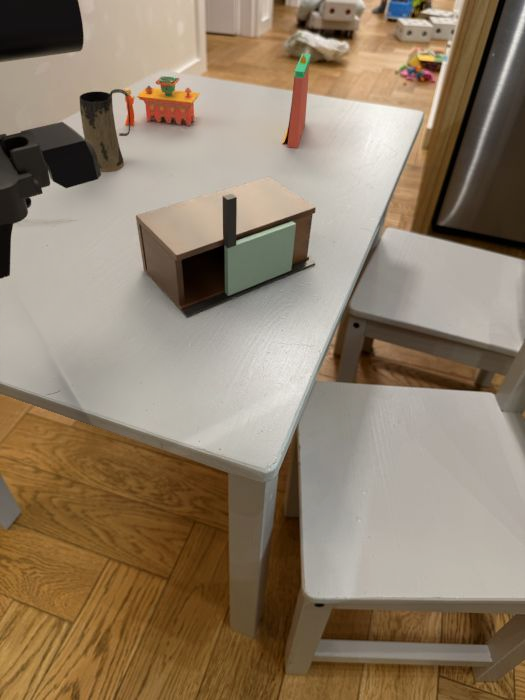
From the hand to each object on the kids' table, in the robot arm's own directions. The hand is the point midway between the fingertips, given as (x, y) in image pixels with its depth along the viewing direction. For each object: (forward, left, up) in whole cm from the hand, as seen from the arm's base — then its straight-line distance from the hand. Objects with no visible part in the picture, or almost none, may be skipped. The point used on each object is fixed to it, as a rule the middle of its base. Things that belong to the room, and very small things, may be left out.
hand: (3, 275), depth 42 cm
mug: (-27, +42, -13) cm, 52 cm away
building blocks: (-22, +67, -13) cm, 72 cm away
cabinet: (+5, +27, -13) cm, 31 cm away
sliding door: (+11, +26, -13) cm, 31 cm away
